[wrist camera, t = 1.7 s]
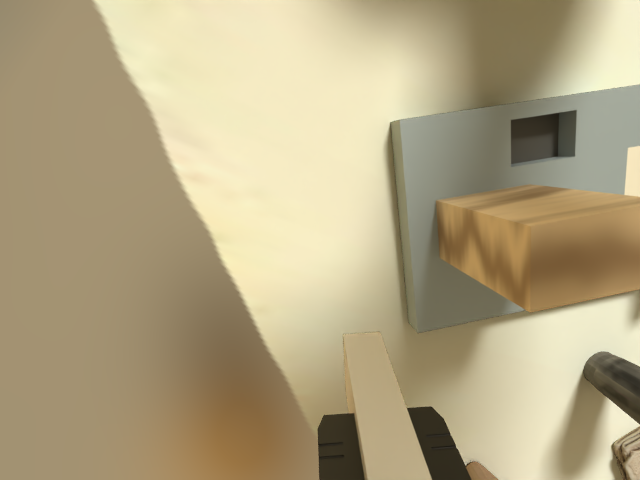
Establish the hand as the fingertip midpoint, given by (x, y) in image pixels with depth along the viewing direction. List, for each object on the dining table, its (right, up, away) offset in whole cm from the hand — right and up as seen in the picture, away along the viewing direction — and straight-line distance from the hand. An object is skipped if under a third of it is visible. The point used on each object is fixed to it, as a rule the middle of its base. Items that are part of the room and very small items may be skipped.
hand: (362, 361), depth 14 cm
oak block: (+15, +7, +21) cm, 27 cm away
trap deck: (+22, +9, +25) cm, 34 cm away
